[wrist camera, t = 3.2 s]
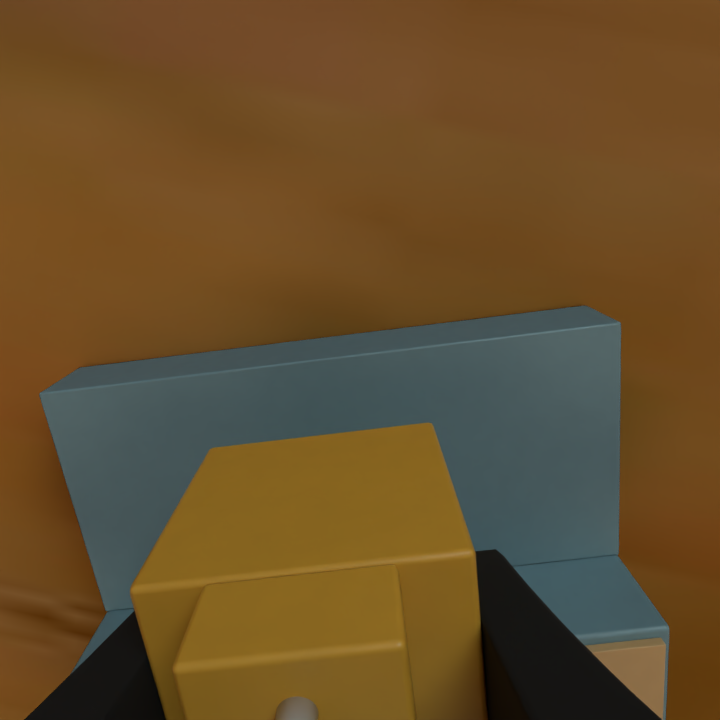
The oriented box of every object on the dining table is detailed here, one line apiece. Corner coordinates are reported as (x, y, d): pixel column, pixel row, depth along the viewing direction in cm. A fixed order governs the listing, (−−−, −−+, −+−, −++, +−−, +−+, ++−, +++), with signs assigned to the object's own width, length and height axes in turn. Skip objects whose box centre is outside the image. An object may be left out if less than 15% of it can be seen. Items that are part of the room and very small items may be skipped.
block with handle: (454, 652, 10) (564, 1161, 5) (258, 673, 10) (153, 1194, 5) (432, 419, 9) (548, 761, 4) (208, 446, 9) (-10, 818, 4)
